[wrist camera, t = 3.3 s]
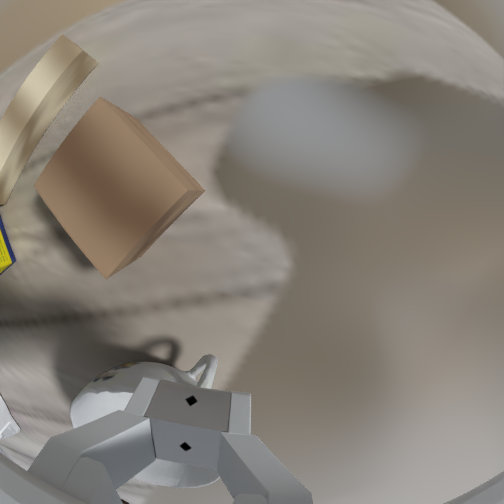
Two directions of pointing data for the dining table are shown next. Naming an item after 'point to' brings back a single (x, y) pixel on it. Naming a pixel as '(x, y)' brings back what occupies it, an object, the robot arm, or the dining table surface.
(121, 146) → the block
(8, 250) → the supplement box
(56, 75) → the beige long bar
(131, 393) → the teacup
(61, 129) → the dining table surface
